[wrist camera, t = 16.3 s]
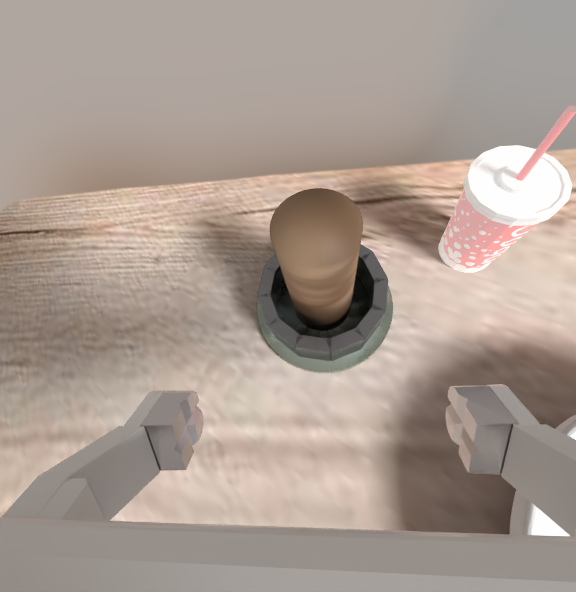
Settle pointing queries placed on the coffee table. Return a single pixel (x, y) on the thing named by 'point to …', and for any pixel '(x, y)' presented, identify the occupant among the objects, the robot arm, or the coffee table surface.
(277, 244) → the brown rounded cylinder
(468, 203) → the beverage cup
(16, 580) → the robot arm
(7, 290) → the coffee table surface
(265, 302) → the cup holder
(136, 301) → the coffee table surface
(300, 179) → the coffee table surface
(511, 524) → the serving bowl
